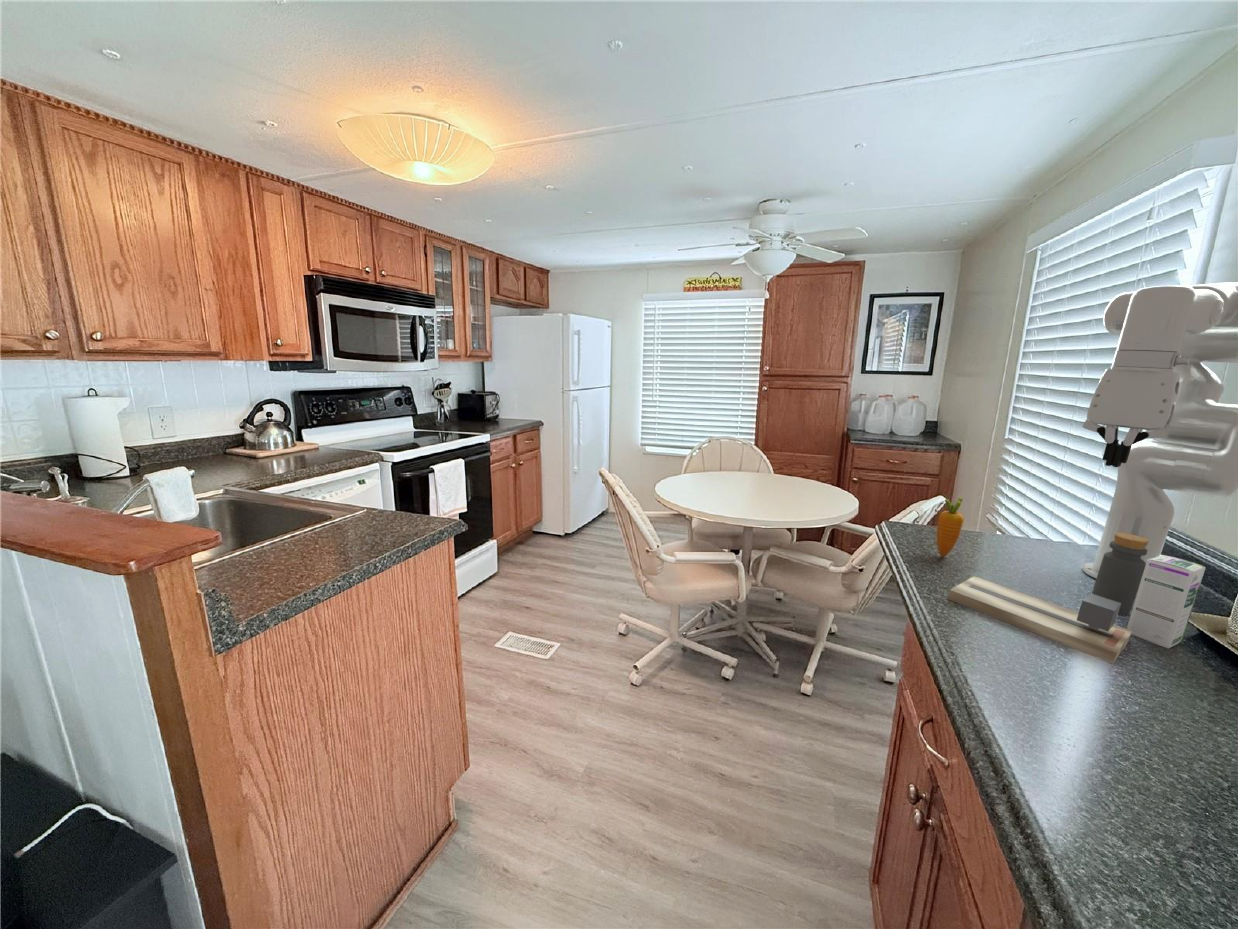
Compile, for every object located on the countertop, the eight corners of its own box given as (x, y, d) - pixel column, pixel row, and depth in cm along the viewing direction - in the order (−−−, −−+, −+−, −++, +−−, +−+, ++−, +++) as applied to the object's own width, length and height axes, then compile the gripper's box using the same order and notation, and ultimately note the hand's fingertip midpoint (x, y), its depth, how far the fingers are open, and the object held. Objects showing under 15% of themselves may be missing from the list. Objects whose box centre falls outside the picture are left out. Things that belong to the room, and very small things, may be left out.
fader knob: (1082, 618, 88) (1090, 593, 86) (1113, 629, 84) (1121, 603, 83) (1074, 626, 85) (1082, 600, 84) (1105, 638, 82) (1114, 611, 80)
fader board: (971, 584, 104) (974, 575, 104) (1129, 641, 86) (1132, 630, 85) (947, 598, 98) (949, 589, 97) (1112, 663, 79) (1116, 652, 78)
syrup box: (1169, 650, 84) (1197, 571, 80) (1123, 631, 89) (1147, 557, 85) (1181, 642, 86) (1209, 566, 83) (1135, 625, 91) (1159, 552, 88)
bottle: (1138, 617, 94) (1162, 544, 91) (1103, 612, 95) (1125, 540, 92) (1115, 602, 100) (1137, 533, 96) (1082, 598, 101) (1102, 529, 97)
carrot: (933, 558, 117) (945, 499, 114) (929, 551, 122) (941, 493, 118) (957, 563, 115) (971, 502, 112) (952, 555, 120) (965, 496, 116)
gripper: (1212, 365, 81) (1177, 473, 85) (1091, 360, 92) (1065, 455, 97) (1206, 364, 76) (1169, 478, 81) (1080, 359, 88) (1053, 458, 92)
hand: (1112, 465), depth 89 cm, fingers closed
